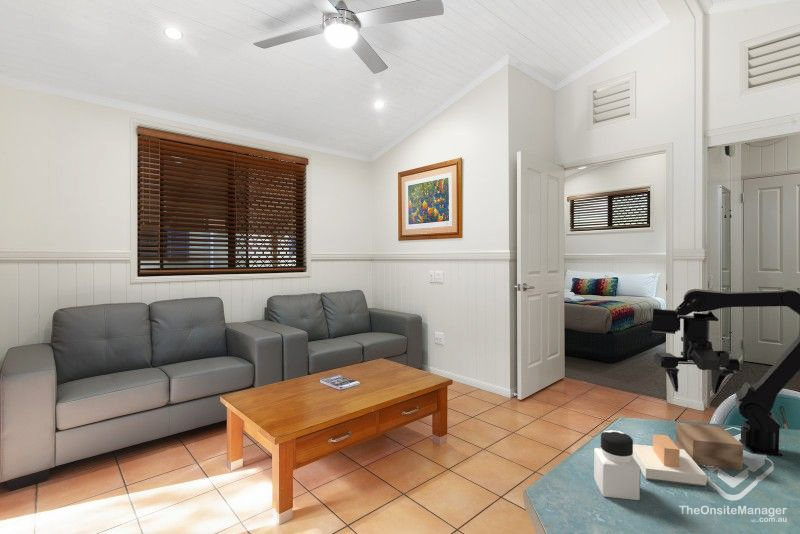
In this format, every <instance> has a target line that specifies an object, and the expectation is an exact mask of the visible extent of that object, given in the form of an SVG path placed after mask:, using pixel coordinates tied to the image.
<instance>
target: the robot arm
mask: <svg viewBox="0 0 800 534" xmlns="http://www.w3.org/2000/svg"><path fill="white" fill-rule="evenodd" d="M745 307H746V308H755V307H756V308H759V307H762V308H763V307H765V308H767V307H787V308H789V309H790V310H792V311H793V312H795V313H796V314H798V315H799V316H800V292H799V291H795V290H792V289H782V290H762V291H761V290H759V291H732V292H731V291H729V292H728V291H727V292H726V291H718V290H709V289H702V288H700V289H699V288H693V289H689V290H688V291H686V292H685V293H684V295H683V301H682V302H681V303H680V304H679V305H677V306H676V308H675V309H666V308H665V309H662V308H656V307H653V309H652V318H651V333H660V334H670V335H676V333H678V331H679V332H680V331H681V320H683V321H682V323H683V326H682V327H683V328H682V329H683V332H682V336H680V341H681V342H682V351H680V356H675V355H674V354H672V353H670V352H655V354H654V356H653V362H654V363H655V364H656V365H658V366H659V367H661V368H662V369H664V371H665V372H666V374H667V376H668V379H669V380H670V383H671V385H672V388H673V390H674V392H676V393H678V392H679V377H678V374H679V372H680V369H679V368H678V366H679V365H695V366H696V367H697V369H699V370H701V371H706V370H707V371H708V370H709V371H710V373H711V391H712V394H714V395H717V393H718V391H719V389H720V387H721V385H722V384H723V382H724V380H725V379H726V377H727V376H729V375H732V374H735V372H736V371H738V372H740V371H741V369H742V364H741V362H740V360H739V359H738V358H735V357H733V356H731V355H730V353H729V352H728V351H727V350H714V349H713V344H712V341H710V322H718V321H719V318H718V316H717V315H715V314H714V313H713V311H715V310H720V309H725V308H745ZM704 312H706V313H704ZM691 313H693V315H690V314H691ZM797 334H798V335H797V337H796V339H795V340H794V341H793V342H792V343H791V344H790V345H789V346H788V348H787V349H786V350H785V351H784V352H783V353H782V355H781V356H780V357H779V358H778V359H777V360H776V362H775V363H773V364H772V366H771V367H770V368H769V369H768V370H767V372H766V373H765V374H764V375H763V376H762V377H761V379H760V380H758V381H757V382H755V383H753V384H749V383H748V382H747V381H745V382H744V383H743V385H742V387H741V388H740V389H739V390H738V391H736V392H735V396H736V397H735V405H736V407H737V409H738V412H739V414H740V415H741V417H743V418H744V419H745V420H743V421H742V423H743V424H742V426H741V427H740V439H739V440H738V441H739V442H740V443H741V444H743V447H745V448H747V449H748V450H749V451H750V452H751V453H755V454H763V455H764V454H765V455H773V456H784V453H783V452H782V451H780V450H779V449H780V428H781V425H780V423H779V422H778V420H777V418H776V417H775V415H774V413H773V412H772V409H773V408H774V406H775V403H776V399H777V397H778V394H779V393H780V392H781V391H782V390H783V389H784V388H786V385H788V384H789V382H790V381H791V380H793V378H794V377H795V376H796V374H798V373H799V371H800V330H799V331H798V333H797Z"/></svg>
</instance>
